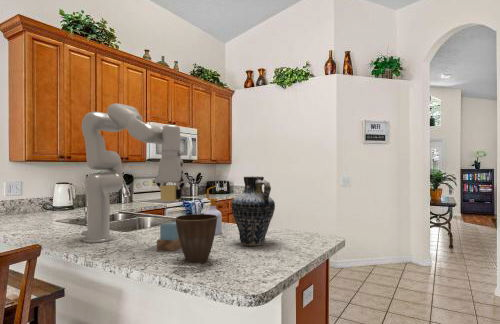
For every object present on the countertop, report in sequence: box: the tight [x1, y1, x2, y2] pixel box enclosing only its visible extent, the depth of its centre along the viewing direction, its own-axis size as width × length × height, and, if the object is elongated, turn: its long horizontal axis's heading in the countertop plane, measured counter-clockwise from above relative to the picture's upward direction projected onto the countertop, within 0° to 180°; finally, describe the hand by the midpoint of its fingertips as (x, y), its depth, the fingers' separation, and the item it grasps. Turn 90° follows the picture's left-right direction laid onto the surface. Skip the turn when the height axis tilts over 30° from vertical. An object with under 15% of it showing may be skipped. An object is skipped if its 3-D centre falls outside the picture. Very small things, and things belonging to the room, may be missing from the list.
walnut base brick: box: [156, 238, 181, 251], centre depth 132 cm, size 8×8×4 cm
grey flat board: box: [143, 244, 183, 254], centre depth 132 cm, size 18×12×1 cm, turn 76°
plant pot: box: [174, 213, 217, 265], centre depth 116 cm, size 15×15×16 cm
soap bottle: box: [204, 185, 223, 236], centre depth 166 cm, size 9×9×25 cm
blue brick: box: [159, 222, 179, 241], centre depth 133 cm, size 6×6×6 cm
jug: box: [230, 175, 276, 246], centre depth 143 cm, size 21×19×30 cm
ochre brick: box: [160, 184, 182, 202], centre depth 133 cm, size 6×6×6 cm
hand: (171, 198), depth 133 cm, fingers closed on ochre brick, 6 cm apart
